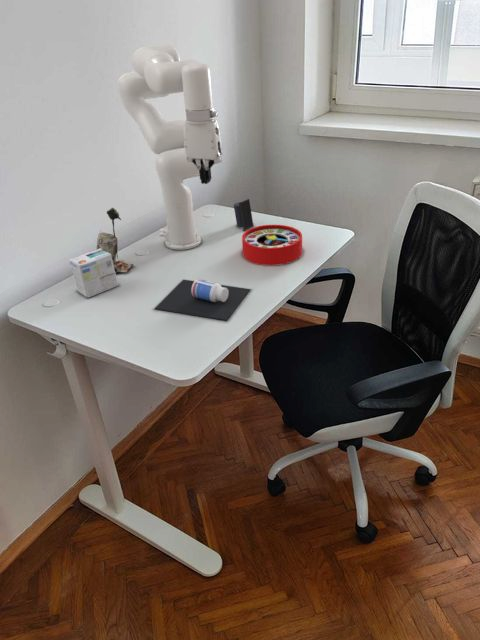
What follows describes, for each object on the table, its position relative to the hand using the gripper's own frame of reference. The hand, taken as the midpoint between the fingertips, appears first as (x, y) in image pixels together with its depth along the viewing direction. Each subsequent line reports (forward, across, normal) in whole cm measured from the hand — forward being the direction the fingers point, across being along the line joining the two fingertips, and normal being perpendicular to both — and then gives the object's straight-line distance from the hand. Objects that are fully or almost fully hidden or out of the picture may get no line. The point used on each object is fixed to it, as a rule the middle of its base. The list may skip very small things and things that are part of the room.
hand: (206, 182), depth 153 cm
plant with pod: (+27, +30, +11) cm, 42 cm away
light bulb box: (+27, +28, +24) cm, 46 cm away
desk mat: (+27, -6, +21) cm, 35 cm away
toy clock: (+27, -15, -15) cm, 35 cm away
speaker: (+27, +3, -34) cm, 44 cm away
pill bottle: (+24, -4, +20) cm, 32 cm away
